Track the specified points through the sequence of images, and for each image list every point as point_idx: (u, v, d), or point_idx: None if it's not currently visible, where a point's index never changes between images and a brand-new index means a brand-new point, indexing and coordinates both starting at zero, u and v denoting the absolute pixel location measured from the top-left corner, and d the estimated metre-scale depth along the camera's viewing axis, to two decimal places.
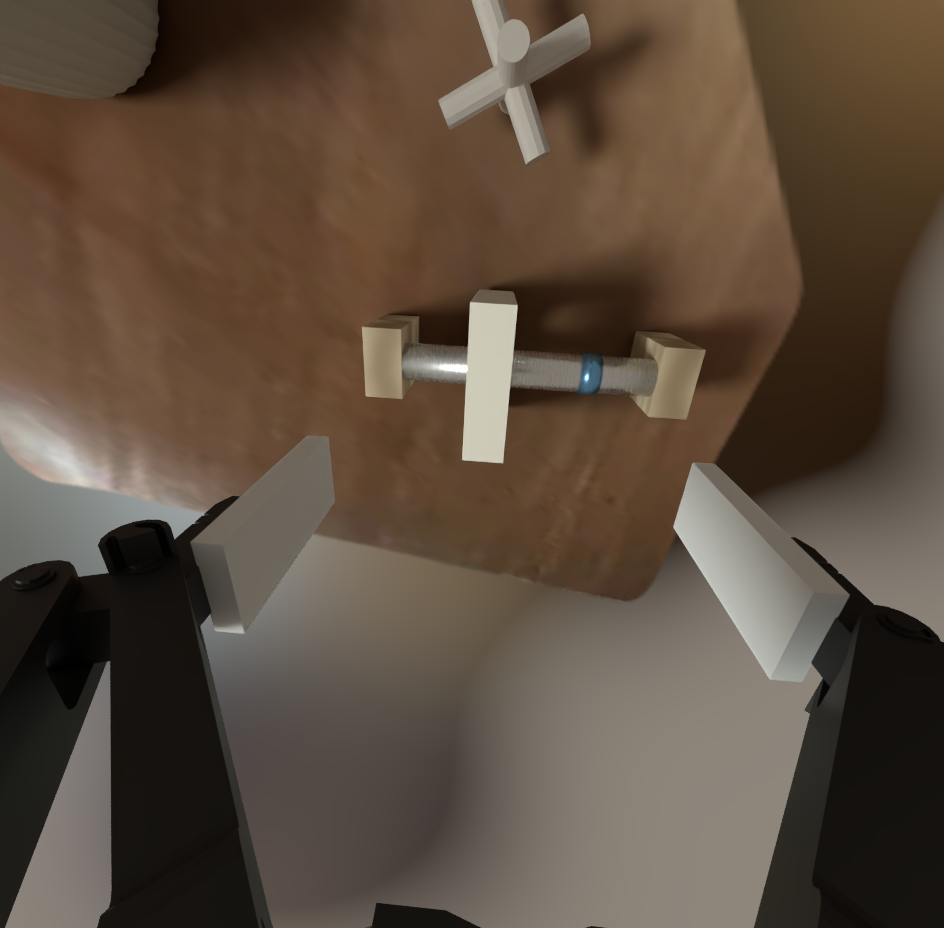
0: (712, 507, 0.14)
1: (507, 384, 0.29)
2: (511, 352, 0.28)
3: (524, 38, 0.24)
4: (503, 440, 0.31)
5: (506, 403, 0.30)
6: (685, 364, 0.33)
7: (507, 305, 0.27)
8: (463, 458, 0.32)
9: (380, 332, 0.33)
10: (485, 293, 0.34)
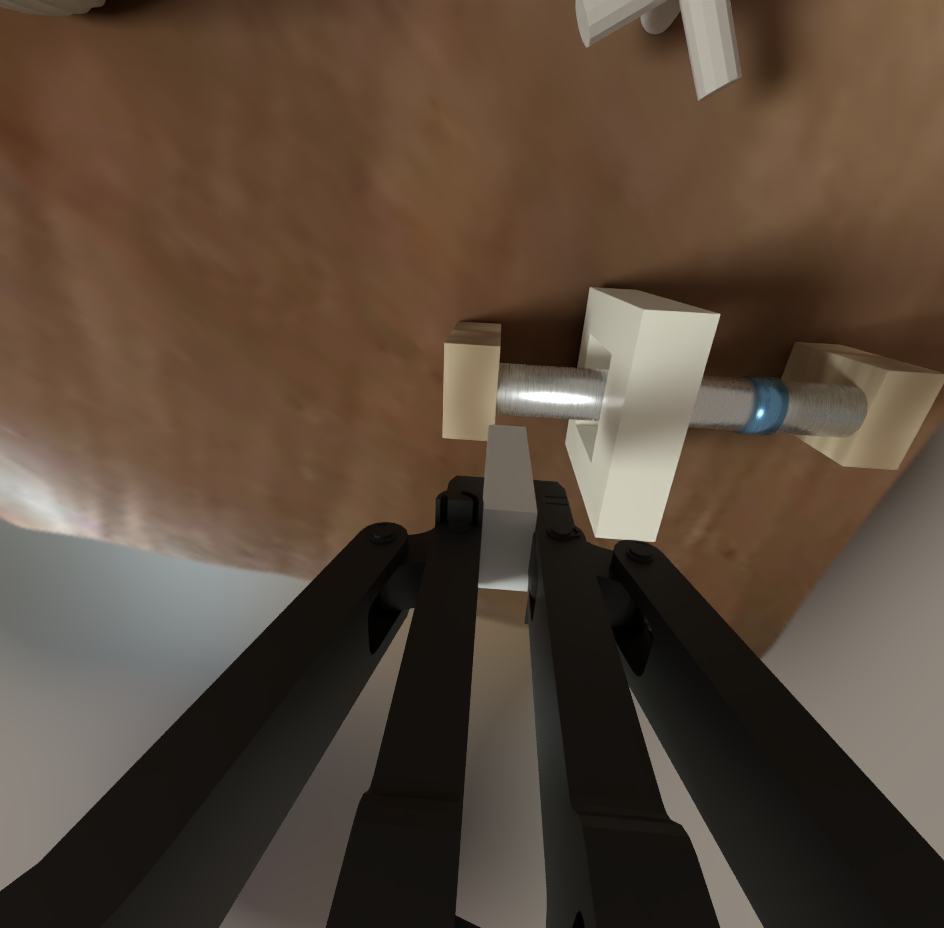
0: None
1: (681, 432, 0.19)
2: (696, 386, 0.18)
3: None
4: (661, 511, 0.21)
5: (675, 460, 0.20)
6: (913, 395, 0.23)
7: (703, 314, 0.17)
8: (597, 535, 0.22)
9: (470, 351, 0.23)
10: (615, 293, 0.24)
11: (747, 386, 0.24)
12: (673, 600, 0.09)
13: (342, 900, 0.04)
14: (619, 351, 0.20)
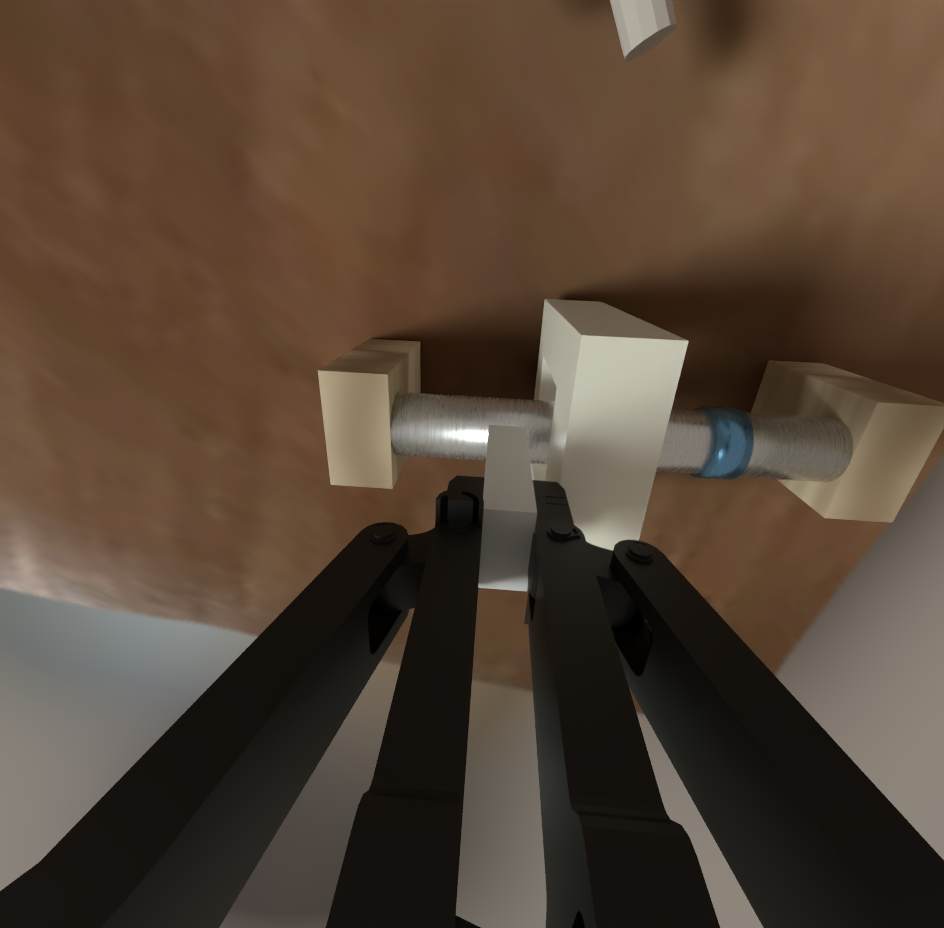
0: None
1: (642, 496, 0.14)
2: (660, 437, 0.14)
3: None
4: None
5: (637, 531, 0.15)
6: (910, 432, 0.18)
7: (664, 341, 0.12)
8: None
9: (351, 380, 0.19)
10: (568, 307, 0.19)
11: (702, 421, 0.19)
12: (673, 600, 0.09)
13: (342, 900, 0.04)
14: (562, 386, 0.15)
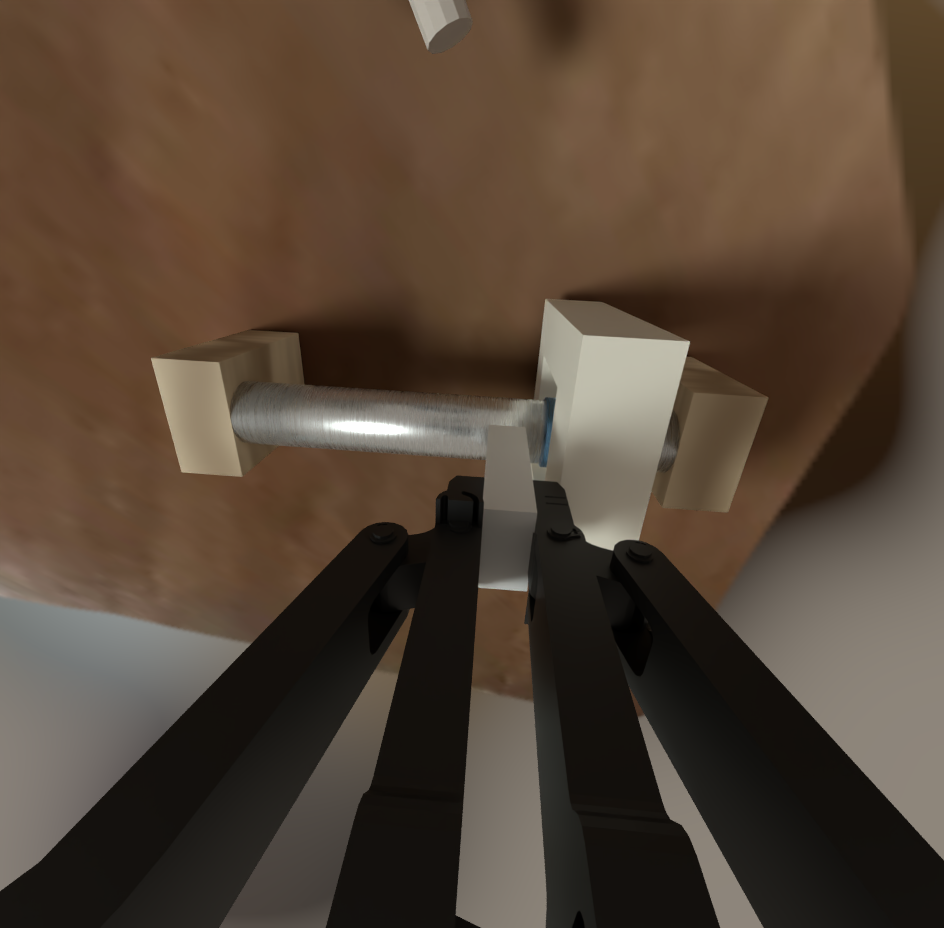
0: None
1: (643, 496, 0.14)
2: (661, 438, 0.14)
3: None
4: None
5: (636, 531, 0.15)
6: (730, 423, 0.18)
7: (666, 342, 0.12)
8: None
9: (185, 368, 0.19)
10: (569, 307, 0.19)
11: (536, 410, 0.19)
12: (673, 600, 0.09)
13: (342, 900, 0.04)
14: (562, 386, 0.15)
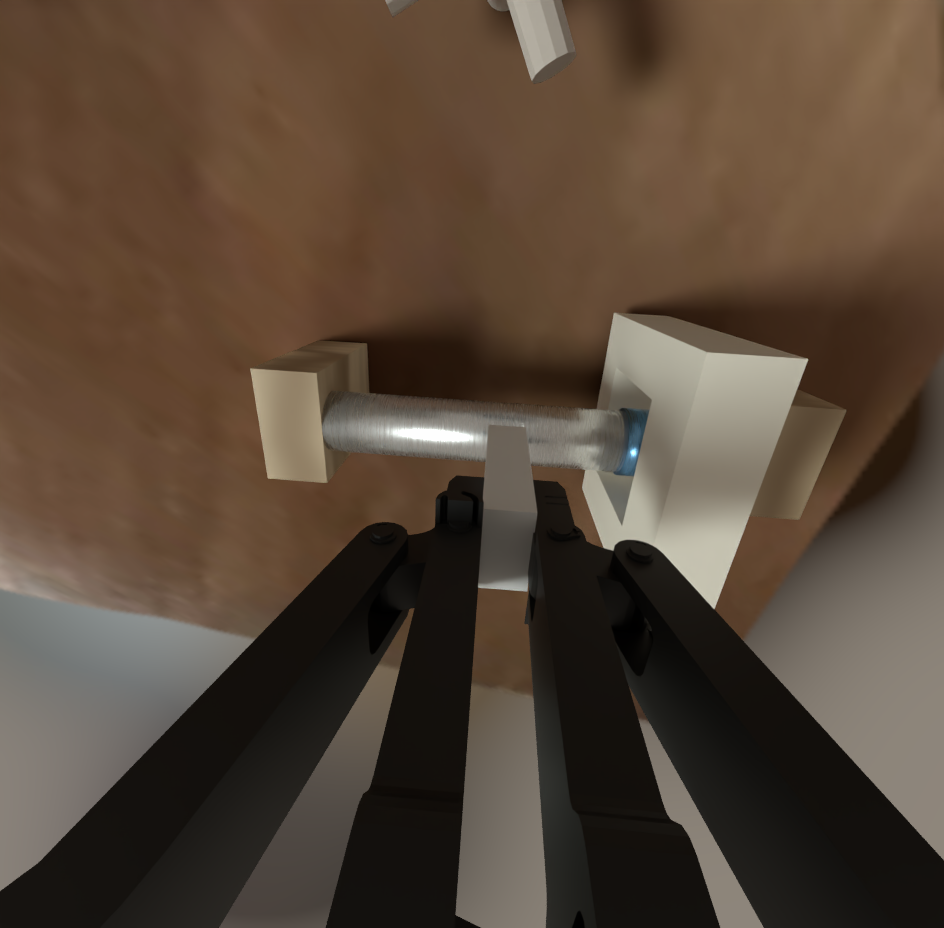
0: None
1: (746, 504, 0.15)
2: (770, 448, 0.14)
3: None
4: (716, 597, 0.17)
5: (737, 537, 0.16)
6: (808, 434, 0.19)
7: (785, 359, 0.13)
8: None
9: (283, 378, 0.20)
10: (650, 322, 0.20)
11: (617, 421, 0.20)
12: (673, 600, 0.09)
13: (342, 900, 0.04)
14: (665, 398, 0.16)
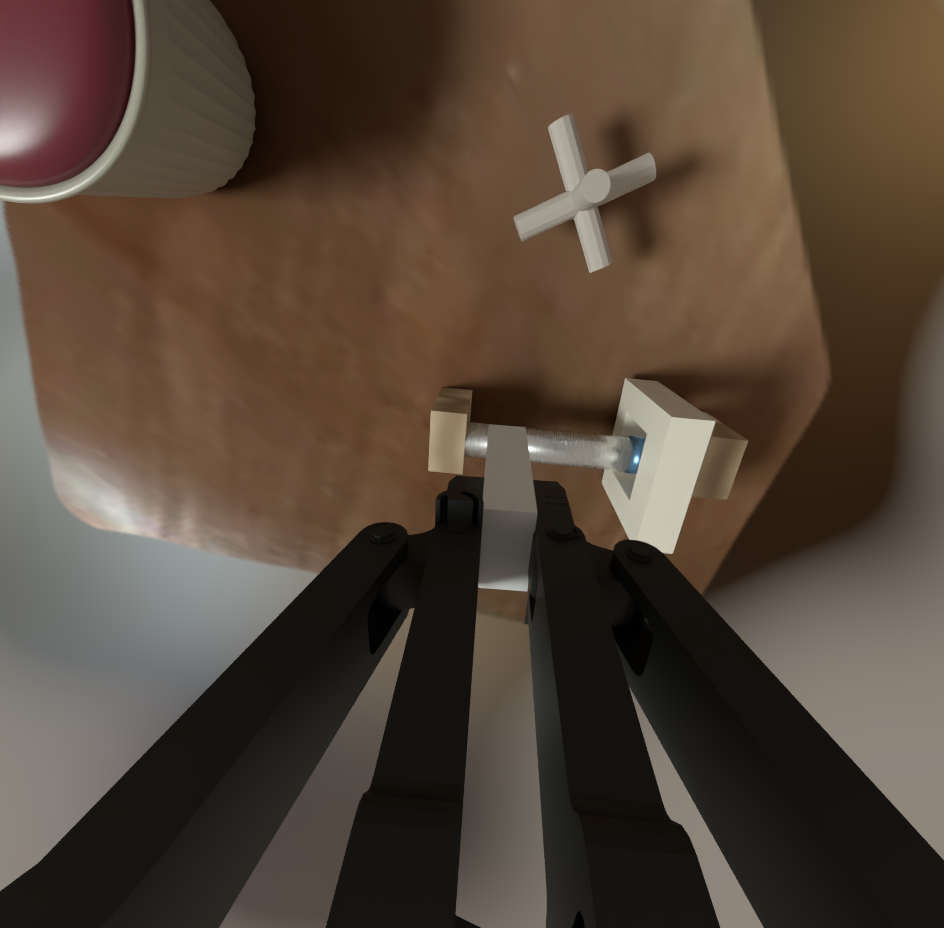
0: None
1: (691, 486, 0.32)
2: (701, 460, 0.31)
3: (605, 184, 0.27)
4: (677, 534, 0.33)
5: (687, 503, 0.32)
6: (729, 452, 0.36)
7: (705, 421, 0.30)
8: None
9: (448, 416, 0.36)
10: (646, 390, 0.37)
11: (627, 443, 0.37)
12: (673, 600, 0.09)
13: (342, 900, 0.04)
14: (653, 434, 0.33)
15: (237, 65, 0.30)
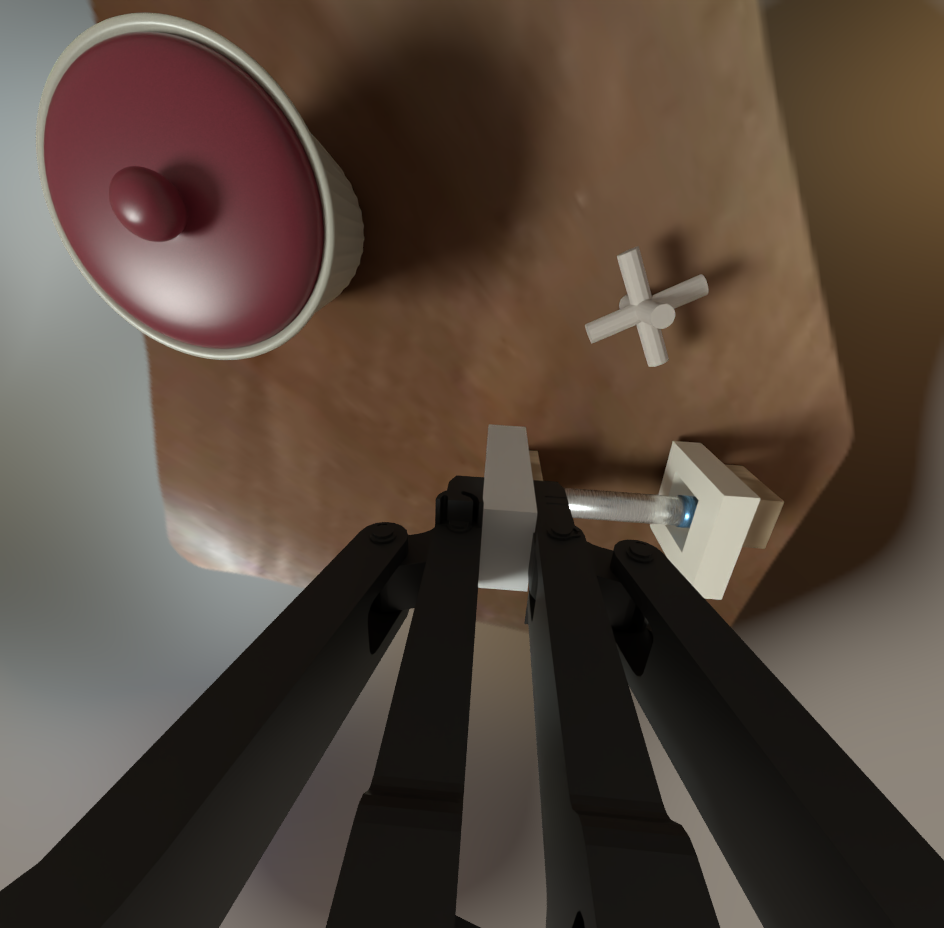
0: None
1: (738, 547, 0.38)
2: (747, 527, 0.37)
3: (671, 315, 0.33)
4: (726, 584, 0.40)
5: (735, 560, 0.39)
6: (767, 511, 0.42)
7: (752, 498, 0.36)
8: None
9: None
10: (695, 457, 0.43)
11: (679, 503, 0.43)
12: (673, 600, 0.09)
13: (342, 900, 0.04)
14: (705, 503, 0.39)
15: (358, 213, 0.36)
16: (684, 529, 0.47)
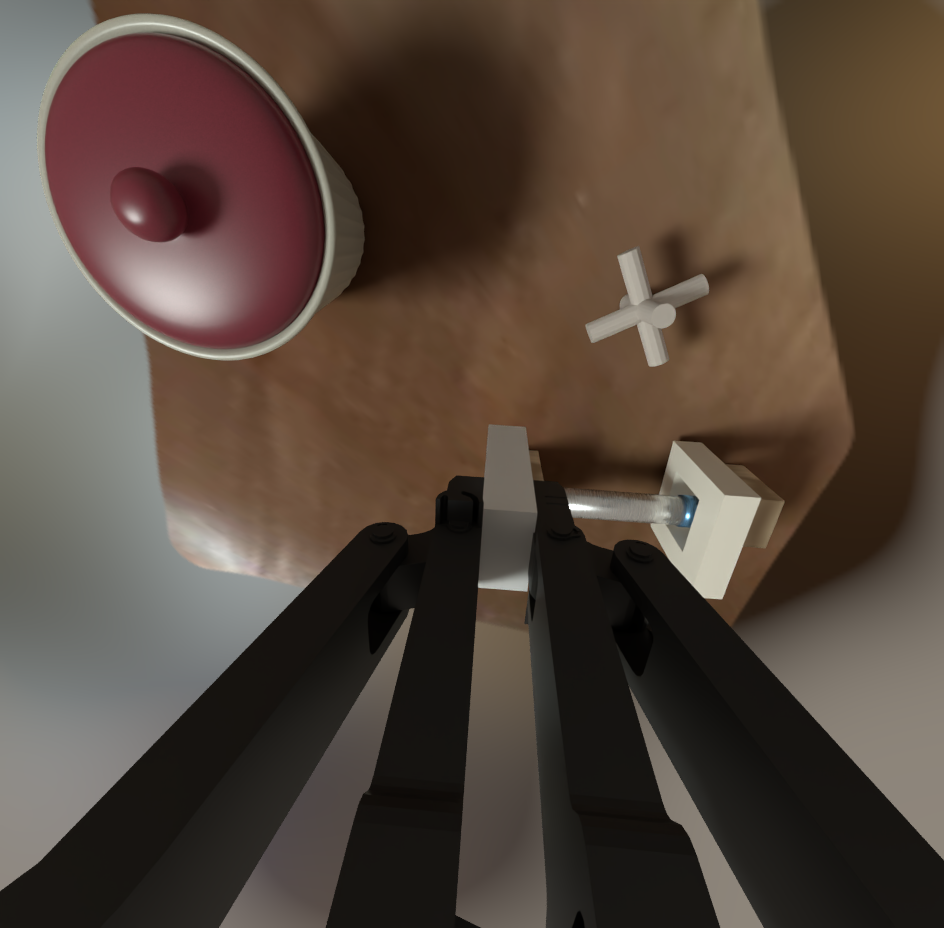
0: None
1: (739, 547, 0.38)
2: (748, 527, 0.37)
3: (671, 314, 0.33)
4: (726, 584, 0.40)
5: (735, 560, 0.39)
6: (768, 511, 0.42)
7: (753, 497, 0.36)
8: None
9: None
10: (695, 457, 0.43)
11: (680, 503, 0.43)
12: (673, 600, 0.09)
13: (342, 900, 0.04)
14: (706, 503, 0.39)
15: (358, 213, 0.36)
16: (685, 529, 0.47)
